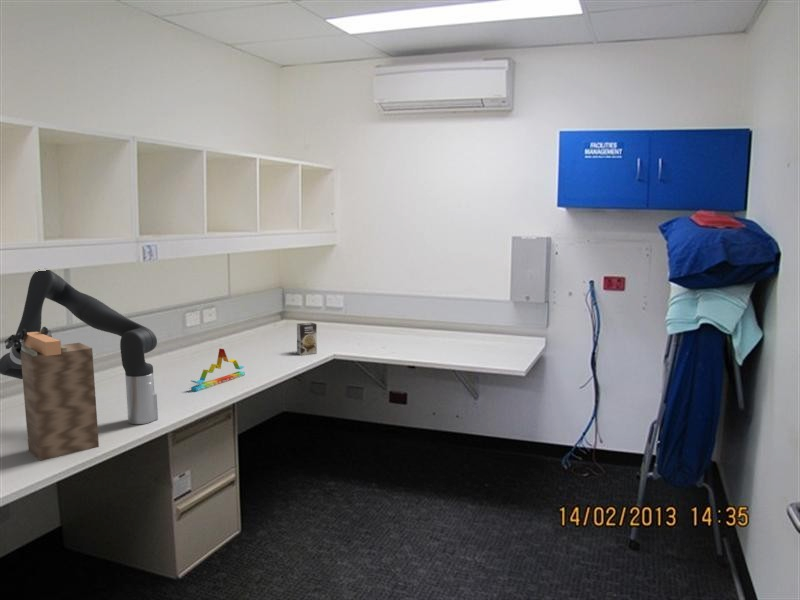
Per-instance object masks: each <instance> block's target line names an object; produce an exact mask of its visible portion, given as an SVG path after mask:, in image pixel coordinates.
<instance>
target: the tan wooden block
mask: <svg viewBox="0 0 800 600" xmlns="http://www.w3.org/2000/svg"><path fill="white" fill-rule="evenodd" d="M61 345H62V343H61V340H59V339H58V338H57V339H56V338H54V337H53V336H52V337H49V336H47V335H44V334H42V333H39V332H28V333H27V336H26V338H25V345H24V346H27V347H29V348H31V349H33V350H35V351H37V352H39V353H41V354H44V355H46V356H49V355H58V354H61Z"/></svg>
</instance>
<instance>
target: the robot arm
mask: <svg viewBox="0 0 800 600" xmlns="http://www.w3.org/2000/svg"><path fill="white" fill-rule="evenodd" d="M37 271H38V270H37ZM46 299H48V300H50V301H52V302H54V303H57V304H59V305H60V306H62V307H64V308H65V309H67V310H68V311H69V312H70V313H72V315H74V317H76V318H77V319H79V320H80V321H81V322H83V323H84V324H86V325H88V326H89V327H91V328H93V329H94V330H99V331H102V332H107V333H110V334H114V335H117V336H119V337H121V338H120V340H119V341H120V342H119V347H120V349H119V350H120V356H121V365H122V367H123V370H124V372H125V373H124V374H125V376H124V377H125V390H126V405H127V406H126V408H127V422H128V423H129V424H131V425H143V424H144V425H145V424H149V423H153V422H154V421H157V420H158V419H159V412H158V410H159V409H158V395H157V393H156V392H155V379H154V365H152V364H151V363H148V362H146V360H145V359H146V358H145V357H146V356H145V354H148V353H150V352H152V351H153V350H154V349H156V347H157V345H158V338H157V336H156V334H155V333H154V331H153V330H151V329H150V328H148V327H147V326H144V325H142V324H140V323H138V322H135V321H133V320H132V319H130V318H127V317H126V316H124V314H121V313H120V312H117V311H116V310H114V309H113V308H111V307H109V305H106V303H104V302H103V301H101V300H99V299H97V298H95V297H94V296H91V295H89V294H86V293H83V292H81V291H79V290H77V289H76V288H74V286H72V285H70V284H69V283H68V282H67V281H66V280H65V279H63V278H62V277H61V276H60V275H58V274H57V273H55V272H54V271H52V270H50V269H49V270H46V271H38V272H36V271H34V272H33V273H32V275H31V277H30V280H29V284H28V288H27V294H26V297H25V302H24V308H23V312H22V315H21V320H20V322H19V325H18V328H17V330H16V333H15V334H11V335H9V337H8V338H6V340H4V346H5V349H6V350H9V352H7V353H5V354H4V355H3V356H1V357H0V375H2V376H7V377H11V378H14V379H19V380H23V376H22V364H21V352H20V350H21V346H24V345H25V338H26V336H27V333H28V332H39V333H42V334H44V335H47V336H49V337H52V338H53V335H52V330H49V329H48V327H46V326H42V311H43V306H44V302H45V300H46ZM30 349H31V348H30Z"/></svg>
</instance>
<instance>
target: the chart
mask: <svg viewBox="0 0 800 600" xmlns="http://www.w3.org/2000/svg"><path fill="white" fill-rule="evenodd" d="M226 353H227V352H226V351H225V348H218V355H217V360H216V364H214V363H211V365H210V366H209V368H208V369H203V370H202V373H201V375H200V378H199V380H190V382H192V383H194V384H197V385H193V386H191V388H190V390H191V392H195V393H197V392H200V391H203V390H206V389H210V388H212V387H215V386H218V385H220V384H223V383H227V382H229V381H232V380H235V379H238V378H241V377H245V375H246V374H245V371H240V370H242V369H244V368H245V366H241V365H239V363H238V361H237V359H233V358H231V359H229V358H228V356H227V354H226ZM223 362H226V363H232V364H233V366H234V368H235V369H236V370H237V371H236V372H232V373H229V374H227V375H225V376H220V377H217V378H214V379H212V380H208V381H206V382H205V380H206V378H207V376H208V373H209V374H213V373H214V372H215V369H218V370H219V369H221V368H222V363H223Z"/></svg>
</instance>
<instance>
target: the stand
mask: <svg viewBox="0 0 800 600" xmlns="http://www.w3.org/2000/svg"><path fill="white" fill-rule="evenodd" d="M20 352H21V364H22V376H23V379H22V386H23V396H24V397H23V398H24V410H25V423H26V437H27V447H28V452H30V453H31V454H32V455H33V456H34V457H36V458H37V460H39V461H40V462H41V461H44V460H48V459H53V458H57V457H61V456H65V455H70V454H74V453H77V452H78V453H79V452H81V451H82V452H83V451H86V450H90V449H95V448H99V447H100V442H99V429H98V428H99V427H98V413H97V402H96V400H97V399H96V398H97V397H96V387H95V386H96V383H95V371H94V370H95V369H94V368H95V367H94V356H93V347H90V346H88V345H86V344H84V343H82V342H74V343H67V344H61V354H58V355H49V356H46V355H44V354H41V353H39V352H37V351H35V350H33V349H30V348H29V347H27V346H21V350H20Z"/></svg>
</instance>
